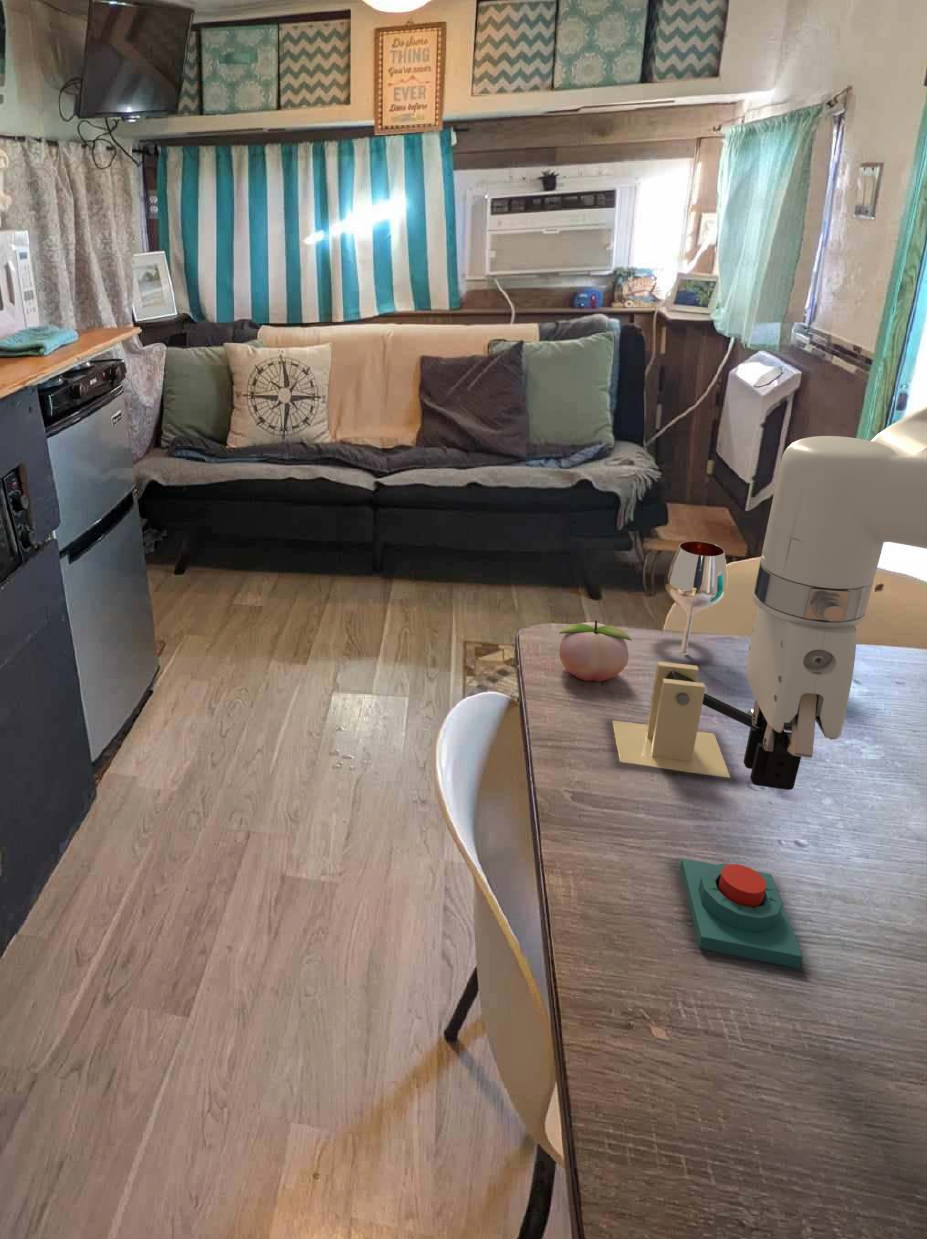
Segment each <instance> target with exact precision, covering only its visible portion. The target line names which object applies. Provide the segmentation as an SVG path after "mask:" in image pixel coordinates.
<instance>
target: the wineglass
mask: <svg viewBox="0 0 927 1239" xmlns="http://www.w3.org/2000/svg"><path fill="white" fill-rule="evenodd" d="M663 586H664V589H665V591H666V593H667V595H668V596H669V598H670V599H671V600H672V601H673V602H675V604H676V605H678V606H679V607H680V608H681V610H682V611H683V612H684V613H685V615H686V619H685V625H684V631H683V635H682V641H681V646H680V649H679V651H678V654H679V655H681V656H689V652H688V650H689V648H688V647H689V641H690V635H691V630H692V624H693V619H694V617H695V615H698V614H699V613H701V612H703V611H705V610H707V609H710V608H712V607H715V606H716V605H717V604H719V603H720V602H721V601H722V600H723V599H724V598H725V597H726V595H727V593H728V590H729V574H728V565H727V559H726V552H725V549H724V548H723V547H721V546H720V545H717V544H715V543H712V542H707V541H701V540H687V541H683V542H681V543H680V544H679V545H678V547H677V549H676V551H675V553H674V555H673V557H672V558H671V561H670V563H669V565H668V567H667V569H666V572H665V574H664V579H663Z"/></svg>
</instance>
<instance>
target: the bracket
mask: <svg viewBox="0 0 927 1239" xmlns="http://www.w3.org/2000/svg"><path fill="white" fill-rule="evenodd" d="M655 669H656V670H655V676H654V683H653V688H652V695H651V699H650V706H649V713H648V718H647V724H643V723H636V722H629V721H628V722H627V721H621V720H614V719H613V720H611V721H612V728H613V733H614V739H615V744H616V748H617V755H618V760H619V763H624V764H628V765H629V764H630V765H637V766H643V767H650V768H651V767H652V768H658V769H665V770H672V771H678V772H685V773H691V774H692V773H693V774H699V775H704V776H705V775H707V776H713V777H718V778H719V777H720V778H727V779H731V775H730V772H729V769H728V766H727V765H726V762H725V759H724V756H723V753H722V750H721V748H720V746H719V742H718V740H717V737H716V735H715V733H713V732H712V733H711V732H705V731H698V729H699V724H700V719H701V714H702V708H703V698H704V693H705V692H706V684H705V682H699V681H698V676H699V672H700V669H699V667H698V665H692V664H686V663H685V664H683V663H675V662H665V661H657V663H656V668H655ZM671 670H673V671H675V672H677V673H680V674H682V675H684V676H686V677H688V678H690V679H692V680H694V682H690V681H681V680H672V679H665V678H666V677H667V676H668V674H669V673H670V672H671ZM661 683H662V686H661ZM705 694H706V693H705Z"/></svg>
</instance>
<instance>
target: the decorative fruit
mask: <svg viewBox="0 0 927 1239" xmlns="http://www.w3.org/2000/svg"><path fill="white" fill-rule="evenodd" d="M558 634H559V635H560V634H561V635H562V637H561V640H560V644H559V659H560V663H561V664H562V666H563V667H564V668H565V670H566V671H567V672H568V673H570V674H571V675H573V676H574V677H576V678H578V679H579V680H581V681H585V682H591V681H594V682H598V683H599V682H604V681H607V680H609V679H612V678H614V677H615V676H617V675H619V674H620V673H621V672H623V670H624V669H625V668H626V667H627V665H628V663H629V656H630V655H629V648H628V645H627V642H626V640H627V641H629V642H632V638H631V637H630V635H629V634H627V633H626V632H625V631H624V630H622V629H620V628H618V627H616V626H613V625H606V624H603V623H600V622H598V620H596V619H595V620H594V622H581V623H573V624H569V625H568V626H566V627H564V628H563V629H562V630H560V631H559V633H558Z"/></svg>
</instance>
